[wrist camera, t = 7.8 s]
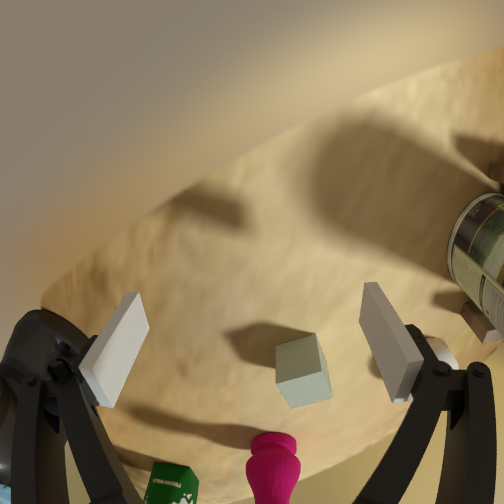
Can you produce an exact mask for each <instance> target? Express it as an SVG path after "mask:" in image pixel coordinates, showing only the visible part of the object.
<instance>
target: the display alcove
mask: <svg viewBox="0 0 504 504" xmlns="http://www.w3.org/2000/svg"><path fill="white" fill-rule="evenodd" d="M489 178H490V179H492V180H495V181H498V182H500V183H503V184H504V164H498V163H492V162H491V163H490V177H489ZM461 316H462V317H463V318H464V320H465V321H466V322H467V324H468V325H469V326H470V328H471V329H472V330H473V332H474V333H475V334H476V336H477V337H478V338H479V340H480V341H481V343H482V344H484V343H488V342H491V341H495V340H499V339H503V337H502V336H501V334H500V333H499V332H498V331H497V329H496V328H495V327H494V326H493V324H492V323H491V322H490V321H489V319H488V318H487V317H486V316H485V315H484V313H483V312H482V311H481V310H480V309H479V308H478V306H477V305H476V304H475V303H474V302H470V303H465V304H464V307H463V310H462V313H461Z"/></svg>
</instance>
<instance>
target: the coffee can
mask: <svg viewBox="0 0 504 504" xmlns="http://www.w3.org/2000/svg"><path fill="white" fill-rule="evenodd" d="M447 262H448V268H449V272H450V275H451V277H452V279H453V281H454V282H455V283H456V284H457V285H458V286H459V287H461V288H462V289H463V290H464V291H465V293H466V294H467V295H468V296H469V297H470V298H471V299H472V301H473V302H474V303H475V304H476V305H477V306H478V308H479V309H480V310H481V311H482V312H483V313H484V315H485V316H486V317H487V318H488V319H489V321H490V322H491V323H492V324H493V326H494V327H495V328H496V329H497V331H498V332H499V333H500V334H501V336H502V337H503V338H504V196H503V195H501V194H499V193H487V194H484V195H482V196H479V197H478V198H476V199H475V200H473V201H472V202H471V203H470V204H469V205H468V206H467V207H466V208H465V209H464V211H463V212H462V213H461V215H460V216H459V218H458V219H457V221H456V223H455V226H454V228H453V230H452V233H451V236H450V240H449V244H448V252H447Z"/></svg>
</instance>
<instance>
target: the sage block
mask: <svg viewBox="0 0 504 504" xmlns="http://www.w3.org/2000/svg"><path fill="white" fill-rule="evenodd" d="M276 385H277V387H278V389H279V390H280V392H281V394H282V395H283V397H284V398H285V400H286V402H287V403H288V405H289V407H290V408H291V409H292V408H296V407H300V406H304V405H308V404H312V403H315V402H319V401H323V400H326V399H330V398H333V395H332V389H331V383H330V378H329V372H328V366H327V361H326V358H325V356H324V353H323V351H322V348H321V346H320V343H319V341H318V338H317V336H316V334H313V335H309V336H306V337H303V338H300V339H297V340H294V341H290V342H287V343H284V344H280V345H277V346H276Z"/></svg>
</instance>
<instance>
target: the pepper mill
mask: <svg viewBox="0 0 504 504" xmlns="http://www.w3.org/2000/svg"><path fill="white" fill-rule="evenodd" d="M251 454H252V455H253V456H252V457H250V458H249V460H248V461H247V463H246V476H247V480H248V482H249V484H250V487H251V489H252V491H253V494H254V498H255V504H289V499H290V496H291V493H292V491H293V488H294V486H295V484H296V483H297V481H298V478H299V475H300V469H301V465H300V461H299V460H298V458H297V457H296V456H294V455H295V454H296V440H295V439H294V438H293V437H292V436H290V435H287V434H283V433H265V434H261V435H258V436H256V437H255V438H254V439H253V440H252V443H251Z"/></svg>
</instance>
